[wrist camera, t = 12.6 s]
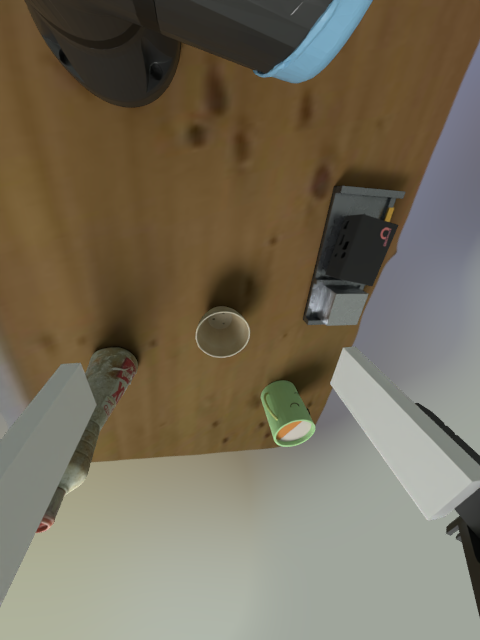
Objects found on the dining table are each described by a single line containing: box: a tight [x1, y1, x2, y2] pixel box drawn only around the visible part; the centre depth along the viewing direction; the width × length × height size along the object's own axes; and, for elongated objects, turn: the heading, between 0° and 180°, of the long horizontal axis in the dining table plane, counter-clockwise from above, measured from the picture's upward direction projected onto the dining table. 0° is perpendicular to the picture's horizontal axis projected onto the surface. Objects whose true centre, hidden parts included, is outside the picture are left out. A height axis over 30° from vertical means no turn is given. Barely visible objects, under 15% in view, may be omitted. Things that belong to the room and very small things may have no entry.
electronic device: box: [325, 214, 398, 286], centre depth 40 cm, size 7×11×5 cm
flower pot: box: [196, 306, 250, 358], centre depth 43 cm, size 10×10×7 cm
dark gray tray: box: [303, 186, 405, 326], centre depth 42 cm, size 26×12×6 cm, turn 176°
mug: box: [261, 380, 315, 447], centre depth 55 cm, size 13×10×12 cm
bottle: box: [36, 347, 138, 533], centre depth 35 cm, size 9×9×28 cm
